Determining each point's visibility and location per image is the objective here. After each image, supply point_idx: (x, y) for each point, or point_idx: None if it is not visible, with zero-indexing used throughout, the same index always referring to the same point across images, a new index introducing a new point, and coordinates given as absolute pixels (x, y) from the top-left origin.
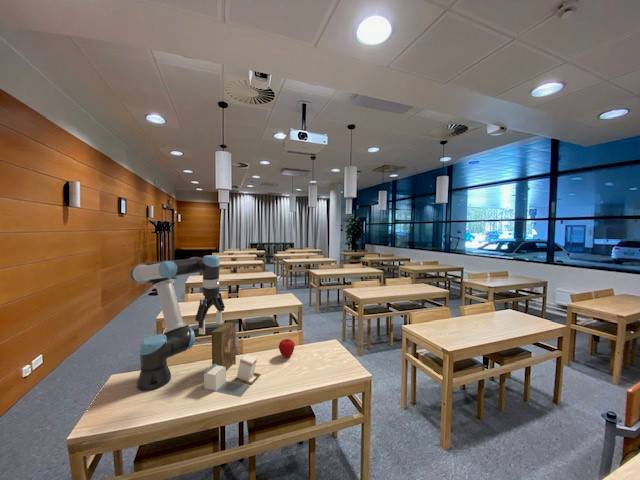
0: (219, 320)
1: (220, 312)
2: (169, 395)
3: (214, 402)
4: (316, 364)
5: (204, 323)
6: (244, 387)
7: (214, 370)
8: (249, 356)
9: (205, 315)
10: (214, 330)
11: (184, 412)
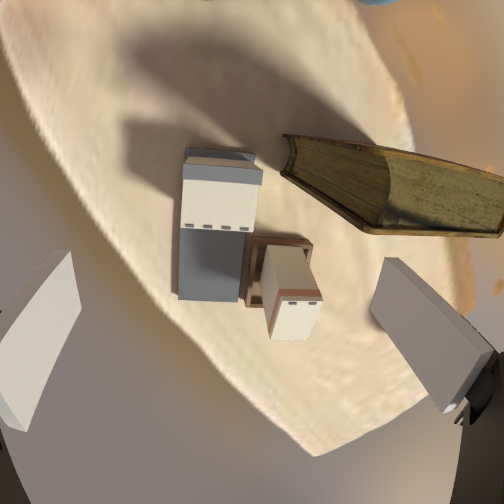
0: (392, 316)
1: (439, 401)
2: (143, 55)
3: (142, 228)
4: (361, 392)
5: (29, 400)
6: (224, 289)
7: (214, 199)
8: (310, 318)
9: (20, 501)
10: (401, 158)
11: (82, 168)
